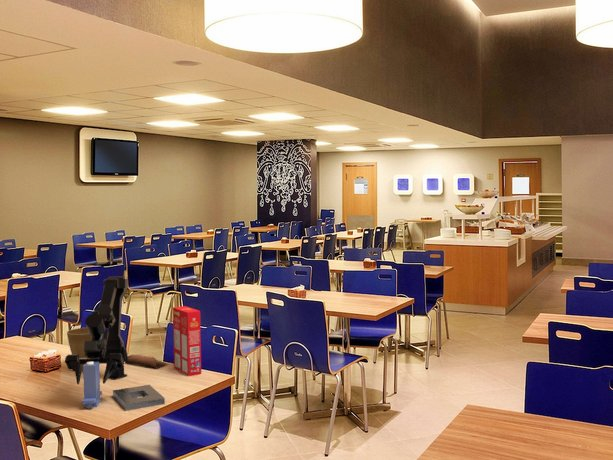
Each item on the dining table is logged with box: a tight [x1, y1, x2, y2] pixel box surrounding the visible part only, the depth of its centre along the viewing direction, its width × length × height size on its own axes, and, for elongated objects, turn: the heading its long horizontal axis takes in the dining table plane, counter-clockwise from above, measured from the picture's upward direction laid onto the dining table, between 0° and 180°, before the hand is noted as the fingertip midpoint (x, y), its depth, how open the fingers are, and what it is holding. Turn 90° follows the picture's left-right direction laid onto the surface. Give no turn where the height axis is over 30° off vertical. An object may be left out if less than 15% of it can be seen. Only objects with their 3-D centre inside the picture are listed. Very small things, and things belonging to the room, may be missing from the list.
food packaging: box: [172, 305, 202, 377], centre depth 255 cm, size 15×5×25 cm, turn 34°
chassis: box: [112, 384, 166, 411], centre depth 220 cm, size 18×13×2 cm
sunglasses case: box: [124, 354, 169, 370], centre depth 267 cm, size 18×7×7 cm
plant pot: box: [66, 326, 91, 372], centre depth 260 cm, size 15×15×16 cm
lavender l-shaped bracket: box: [81, 361, 103, 409], centre depth 215 cm, size 10×4×15 cm, turn 4°
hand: (90, 383), depth 214 cm, fingers open, 8 cm apart
